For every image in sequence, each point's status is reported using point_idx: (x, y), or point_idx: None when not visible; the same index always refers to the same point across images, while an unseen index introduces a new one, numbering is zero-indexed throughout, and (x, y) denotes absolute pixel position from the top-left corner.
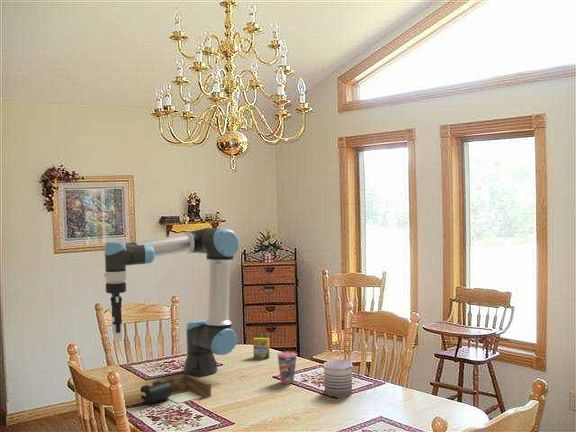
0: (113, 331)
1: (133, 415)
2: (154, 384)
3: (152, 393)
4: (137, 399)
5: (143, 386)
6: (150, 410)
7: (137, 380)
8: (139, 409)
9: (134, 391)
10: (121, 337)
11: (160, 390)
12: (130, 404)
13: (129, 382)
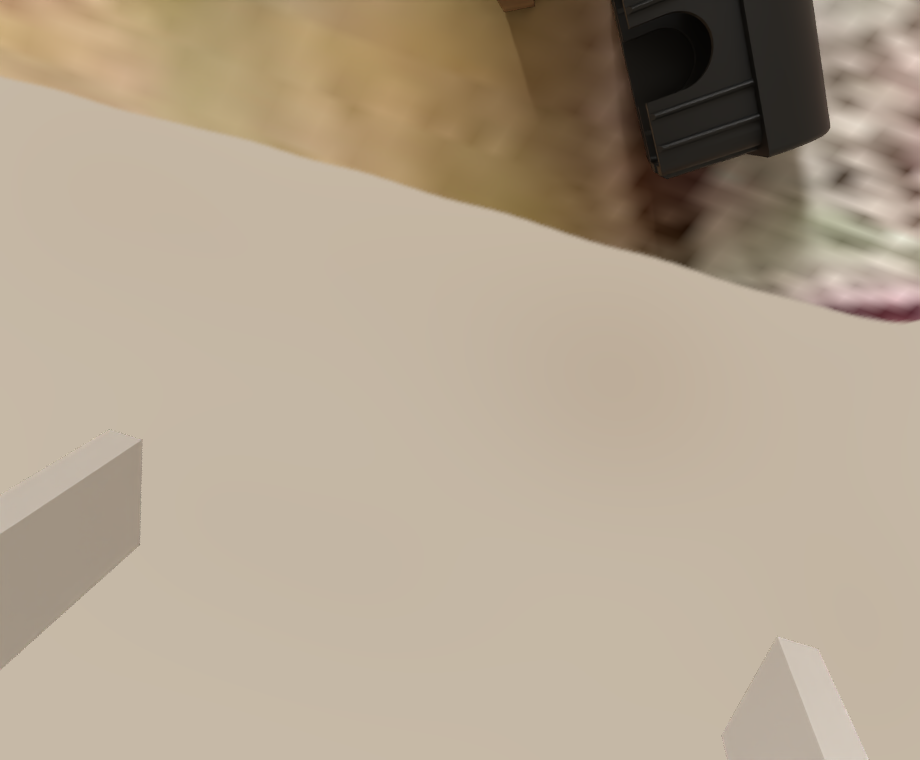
0: (106, 556)
1: (872, 308)
2: (649, 21)
3: (827, 114)
4: (551, 164)
5: (669, 150)
6: (865, 166)
7: (103, 6)
8: (780, 229)
9: (358, 121)
10: (843, 715)
11: (812, 14)
12: (629, 246)
13: (132, 82)
